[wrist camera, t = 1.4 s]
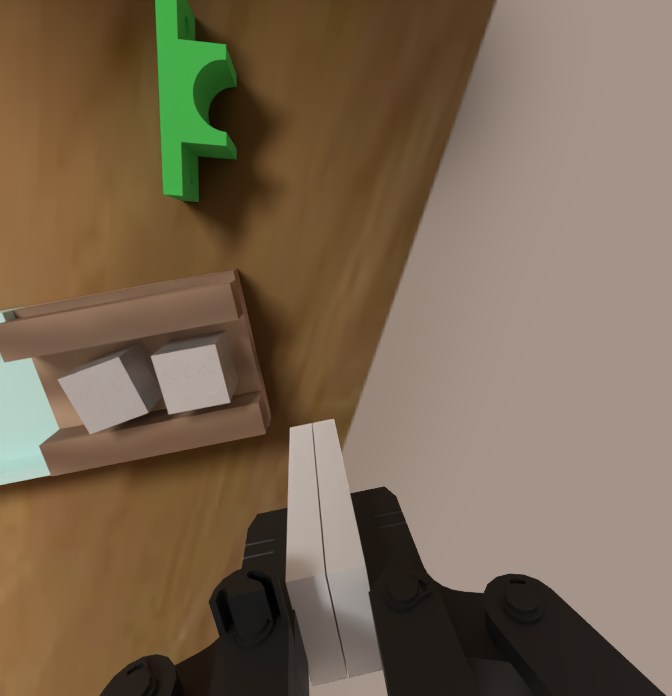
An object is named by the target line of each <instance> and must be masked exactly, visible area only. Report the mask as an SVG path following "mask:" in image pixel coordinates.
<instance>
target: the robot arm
mask: <svg viewBox="0 0 672 696" xmlns="http://www.w3.org/2000/svg"><path fill="white" fill-rule="evenodd" d="M209 604H210V608H211V611H212V614H213V617H214V620H215V623H216V626H217V629H218V632H219V635H220V637H219V638H218V639H217V640H216V641H215V642H214V643H212V644H211V645H210V646H209V647H207V648H206V649H204V650H202V651H201V652H199V653H197V654H195V655H194V656H192V657H190V658H188V659H186V660H184V661H182V662H181V663H179V664H177V665H174V664H173V663H172V661H171V660H170V659H169V658H168V657H166V656H162V655H158V654H156V655H150V656H145V657H142V658H140V659H138V660H136V661H134V662H132V663H130V664H129V665H127V666H126V667H125V668H124V669H123V670H121V671H120V672H119V673H118V674H117V675H115V676H114V677H113V679H112V680H111V681H110V682H109V684H108V685H107V686H106V688H105V689H104V690H103V691H102V693H101V694H100V696H309V677H310V681H311V684H312V686H315V685H319V684H323V683H328V682H332V681H336V680H341V679H345V678H348V677H347V670H348V675H349V678H350V677H354V676H359V675H363V674H367V673H371V672H376V671H380V670H383V672H384V677H385V682H386V687H387V693H388V696H666V695H665V694H663V692H661V691H660V690H659V689H658V688H657V687H656V686H655V685H654V684H653V683H652V682H651V681H650V680H649V679H647V678H646V677H645V676H644V675H643V674H642V673H641V672H640V671H639V670H638V669H637V668H636V667H635V666H634V665H632V664H631V663H630V662H629V661H628V660H627V659H626V658H625V657H624V656H623V655H622V654H621V653H620V652H618V651H617V650H616V649H615V648H614V647H613V646H612V645H611V644H610V643H609V642H608V641H607V640H606V639H604V637H602V636H601V635H600V634H599V633H598V632H597V631H596V630H595V629H594V628H593V627H592V626H591V625H590V624H588V623H587V622H586V621H585V620H584V619H583V618H582V617H581V616H580V615H579V614H578V613H577V612H576V611H574V610H573V609H572V608H571V607H570V606H569V605H568V604H567V603H566V602H565V601H564V600H563V599H562V598H561V597H559V596H558V595H557V594H556V593H555V592H554V591H553V590H552V589H551V588H549V587H548V586H546V585H545V584H543V583H542V582H540V581H539V580H537V579H534V578H531V577H529V576H526V575H521V574H506V575H503V576H499V577H496V578H495V579H493V580H492V581H491V582H490V583H488V584H487V587H486V589H485V591H484V593H474V592H463V591H457V590H452V589H449V588H447V587H444V586H442V585H441V584H439V583H437V582H436V581H434V580H433V579H432V578H431V577H430V576H429V574H427V572H426V570H425V568H424V566H423V564H422V561H421V559H420V556H419V554H418V551H417V548H416V546H415V543H414V541H413V538H412V536H411V533H410V531H409V528H408V526H407V524H406V520H405V518H404V515H403V513H402V511H401V508H400V505H399V503H398V500H397V497H396V496H395V495H394V494H393V493H391V492H390V491H389V490H388V489H387V488H386V487H379V488H375V489H370V490H365V491H360V492H355V493H350V491H349V486H348V482H347V477H346V472H345V468H344V464H343V458H342V454H341V449H340V444H339V440H338V435H337V430H336V426H335V421H334V419H331V420H326V421H321V422H316V423H313V428H312V423H310V424H305V425H300V426H295V427H290V445H289V480H288V508H285V509H280V510H275V511H270V512H265V513H261V514H257V516H256V517H255V519H254V520H253V522H252V524H251V525H250V527H249V528H248V532H247V539H246V547H245V551H244V560H243V563H242V569H240V570H237V571H235V572H233V573H232V574H230V575H229V576H227V577H226V578H224V579H223V580H222V581H221V583H220V584H219V585H218V586H217V587H216V588H215V589H214V591H213V594H212V596H211V598H210V600H209ZM346 665H347V669H346Z"/></svg>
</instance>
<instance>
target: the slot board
mask: <svg viewBox="0 0 672 696" xmlns="http://www.w3.org/2000/svg"><path fill="white" fill-rule="evenodd" d="M13 313H14V315H15V318H16V319H13V320H10V321H6V322H3V323H0V354H1V356H2V359H3V361H4V363H5V362H11V361H16V360H22V359H27V358H32V361H33V363H34V366H35V369H36V371H37V374H38V376H39V379H40V381H41V384H42V386H43V389H44V391H45V394H46V396H47V399H48V402H49V404H50V407H51V409H52V412H53V414H54V417H55V419H56V422H57V424H58V427H59V430H58V431H57V432H55V433H54V434H53V435H52V436H50V437H49V438H48V439H47V440H45V441H44V442H43V443H42V444H41V445H39V448H40V450H41V453H42V455H43V457H44V460H45V462H46V465H47V467H48V469H49V472H50V474H51V476H57V475H62V474H67V473H72V472H77V471H82V470H87V469H92V468H97V467H102V466H107V465H112V464H117V463H122V462H127V461H132V460H137V459H142V458H147V457H152V456H157V455H162V454H167V453H172V452H177V451H182V450H188V449H193V448H198V447H203V446H208V445H213V444H218V443H223V442H228V441H233V440H238V439H243V438H248V437H253V436H258V435H263V434H266V430H267V426H270V421H271V412H270V407H269V403H268V399H267V394H266V390H265V386H264V381H263V377H262V373H261V369H260V364H259V360H258V356H257V351H256V347H255V343H254V338H253V334H252V330H251V326H250V321H249V317H248V313H247V308H246V304H245V300H244V295H243V291H242V287H241V282H240V278H239V274H238V270H237V269H233V270H227V271H222V272H216V273H210V274H205V275H199V276H194V277H188V278H182V279H177V280H171V281H165V282H160V283H154V284H149V285H143V286H137V287H132V288H126V289H120V290H115V291H109V292H104V293H98V294H92V295H87V296H81V297H75V298H70V299H64V300H59V301H53V302H47V303H42V304H36V305H31V306H27V307H23V308H19V309H15V310H13ZM224 330H226V333H227V337H228V341H229V345H230V349H231V353H232V357H233V361H234V365H235V369H236V373H237V377H238V381H239V382H238V385H237V387H236V390H235V392H234V395H233V397H232V400H231V402H230V403H226V404H221V405H215V406H210V407H205V408H200V409H195V410H190V411H184V412H179V413H174V414H168V411H167V407H166V404H165V401H164V398H163V396H162V397H161V399H160V400H159V401H158V402H157V403H156V405H155V406H154V407H153V408H152V409H151V411H150V412H149V413H147V414H144V415H141V416H139V417H136V418H133V419H131V420H128V421H125V422H122V423H120V424H117V425H114V426H112V427H109V428H106V429H104V430H101V431H98V432H96V433H93V434H89V432H88V430H87V429H86V427H85V425H84V423H83V422H82V420H81V418H80V417H79V415H78V413H77V412H76V410H75V408H74V407H73V405H72V403H71V402H70V400H69V398H68V397H67V395H66V393H65V392H64V390H63V388H62V387H61V385H60V383H59V382H58V379H59V378H61V377H63V376H64V375H66V374H68V373H69V372H71V371H73V370H74V369H76V368H78V367H80V366H81V365H83V364H85V363H86V362H88V361H90V360H93V359H95V358H98V357H101V356H103V355H106V354H109V353H112V352H114V351H117V350H120V349H122V348H125V347H128V346H130V345H133V344H136V343H138V342H141V341H142V342H143V344H144V346H145V348H146V350H147V352H148V354H149V355H150V357H151V355H153V354H154V353H155V352H156V351H158V350H159V349H160V348H161V347H163V346H164V345H165V344H166V343H167V342H169V341H170V340H175V339H181V338H186V337H192V336H197V335H202V334H208V333H213V332H219V331H224Z"/></svg>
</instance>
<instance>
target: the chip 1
mask: <svg viewBox="0 0 672 696" xmlns="http://www.w3.org/2000/svg"><path fill="white" fill-rule="evenodd" d="M58 382H59V383H60V385H61V387H62V388H63V390H64V392H65V393H66V395H67V397H68V398H69V400H70V402H71V403H72V405H73V407H74V408H75V410H76V412H77V413H78V415H79V417H80V418H81V420H82V422H83V423H84V425H85V427H86V429H87V430H88V432H89V434H93V433H96V432H98V431H101V430H104V429H106V428H109V427H112V426H114V425H117V424H120V423H122V422H125V421H128V420H131V419H133V418H136V417H139V416H141V415H144V414H147V413H149V412H150V411H151V409H152V408H153V407H154V406H155V405H156V403H157V402H158V401H159V400H160V399H161V397H162V396H163V394H162V391H161V388H160V385H159V381H158V378H157V375H156V372H155V368H154V365H153V362H152V359H151V357H150V355H149V354H148V352H147V350H146V348H145V346H144V344H143V342H142V341H141V342H138V343H136V344H133V345H130V346H128V347H125V348H122V349H120V350H117V351H114V352H112V353H109V354H106V355H103V356H101V357H98V358H95V359H93V360H90V361H88V362H86V363H85V364H83V365H81V366H80V367H78V368H76V369H74V370H73V371H71V372H69V373H68V374H66V375H64V376H63V377H61V378H59V379H58Z"/></svg>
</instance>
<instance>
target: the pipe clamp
mask: <svg viewBox="0 0 672 696" xmlns="http://www.w3.org/2000/svg"><path fill="white" fill-rule="evenodd" d="M155 9H156V32H157V55H158V78H159V102H160V125H161V148H162V171H163V194H164V195H167V196H170V197H173V198H176V199H179V200H181V201H191V202H199V180H198V156H199V157H211V158H223V159H235V160H237V148H236V146H235V145H234V143H233V142H232V140H231V139H230V137H229V135H228V134H227V132H223V131H219V130H216V129H214V128H213V127H211V126H210V123H209V117H208V113H209V107H210V104H211V101H212V100H213V98H214V97H215V95H216V94H217V93H219V92H220V91H221V90H223V89H226V88H230V87H237V74H236V72H235V69H234V66H233V63H232V60H231V58H230V55H229V52H228V49H227V46H226V44H218V43H209V42H200V41H195V16H194V14H193V12H192V10H191V7H190V5H189V3H188V1H187V0H155Z"/></svg>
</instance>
